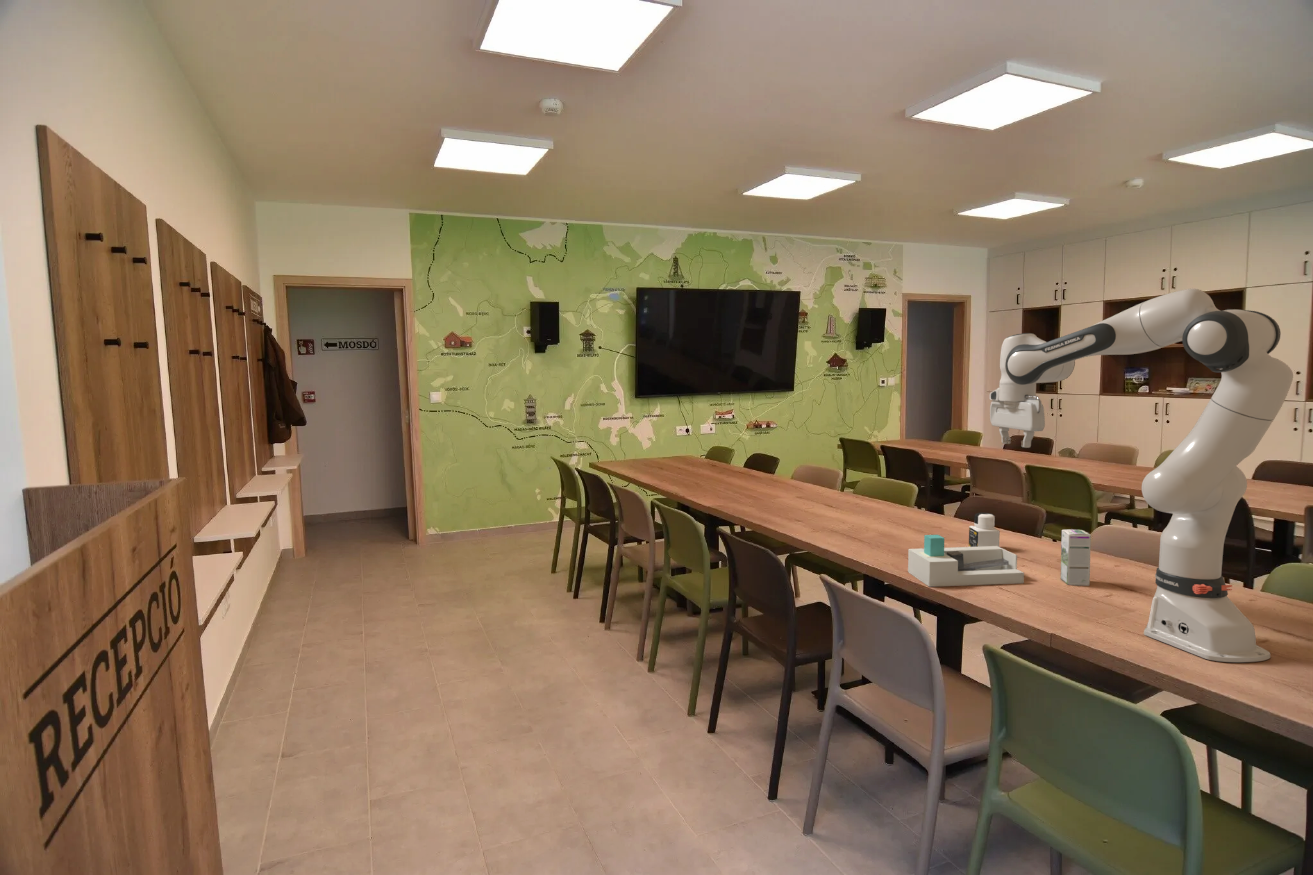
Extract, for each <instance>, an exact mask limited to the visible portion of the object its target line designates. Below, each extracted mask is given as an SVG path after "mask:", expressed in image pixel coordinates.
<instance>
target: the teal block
mask: <svg viewBox="0 0 1313 875" xmlns="http://www.w3.org/2000/svg"><path fill="white" fill-rule="evenodd" d="M923 539H924V540H923V544H924V545H923V548H924V553H925V554H927V555H929V556H944V548H945V537H943V536H941V535H940V534H924V538H923Z"/></svg>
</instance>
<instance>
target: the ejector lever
mask: <svg viewBox="0 0 1313 875" xmlns="http://www.w3.org/2000/svg"><path fill="white" fill-rule="evenodd" d="M947 555H948V556H950V557H952V558H953V559H955V560H957V561H958V571H965V570H972V569H979V568H987V567H994V566H1002V565H1009V562H1008V561H1007V560H1005V559H996V560H988V561H981V562H973V563H966V564H964V561H963V554H962V553H961V552H959V551H953V552H947Z"/></svg>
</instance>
